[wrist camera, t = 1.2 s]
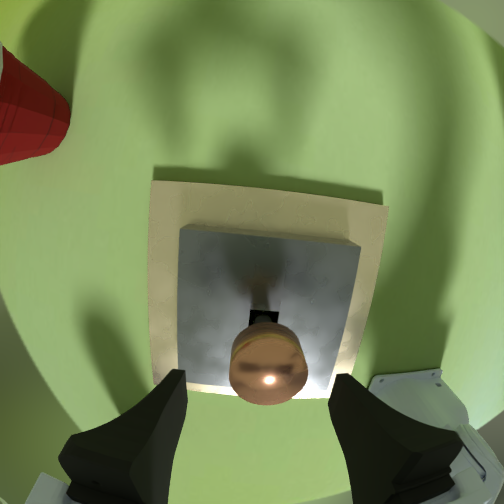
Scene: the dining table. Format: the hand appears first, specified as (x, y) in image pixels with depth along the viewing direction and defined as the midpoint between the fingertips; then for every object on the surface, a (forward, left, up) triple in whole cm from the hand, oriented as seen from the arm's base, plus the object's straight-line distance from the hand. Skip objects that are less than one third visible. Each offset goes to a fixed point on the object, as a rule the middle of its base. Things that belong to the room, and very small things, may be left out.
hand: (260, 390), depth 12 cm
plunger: (0, 0, -7) cm, 7 cm away
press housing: (0, 0, -11) cm, 11 cm away
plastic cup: (+21, -14, -11) cm, 27 cm away
